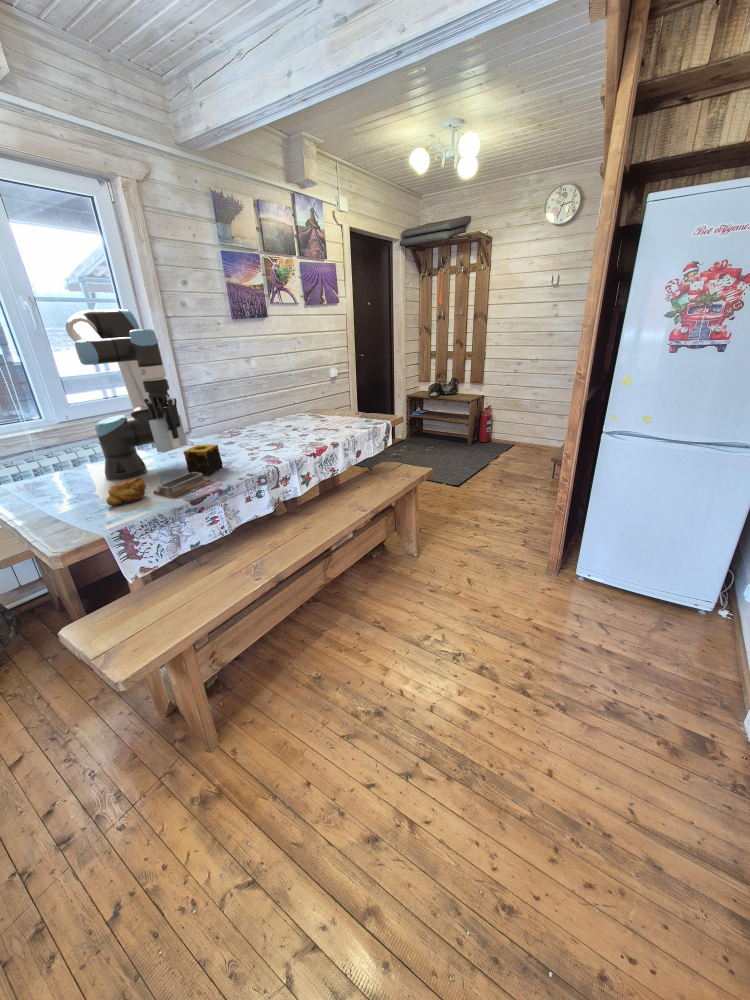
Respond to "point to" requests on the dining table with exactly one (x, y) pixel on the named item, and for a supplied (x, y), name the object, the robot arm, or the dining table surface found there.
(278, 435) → the dining table surface
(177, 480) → the track
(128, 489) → the bread roll
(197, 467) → the candle
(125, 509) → the dining table surface
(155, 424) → the grey upright block
